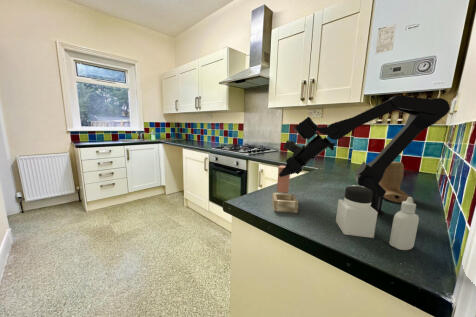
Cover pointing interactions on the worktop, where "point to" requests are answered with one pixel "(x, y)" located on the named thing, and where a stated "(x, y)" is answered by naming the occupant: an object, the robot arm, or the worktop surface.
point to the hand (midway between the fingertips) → (280, 174)
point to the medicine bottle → (357, 212)
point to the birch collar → (284, 202)
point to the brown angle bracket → (394, 183)
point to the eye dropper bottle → (404, 226)
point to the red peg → (283, 181)
